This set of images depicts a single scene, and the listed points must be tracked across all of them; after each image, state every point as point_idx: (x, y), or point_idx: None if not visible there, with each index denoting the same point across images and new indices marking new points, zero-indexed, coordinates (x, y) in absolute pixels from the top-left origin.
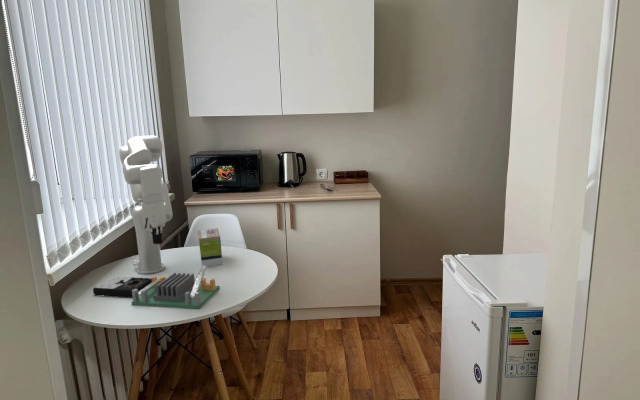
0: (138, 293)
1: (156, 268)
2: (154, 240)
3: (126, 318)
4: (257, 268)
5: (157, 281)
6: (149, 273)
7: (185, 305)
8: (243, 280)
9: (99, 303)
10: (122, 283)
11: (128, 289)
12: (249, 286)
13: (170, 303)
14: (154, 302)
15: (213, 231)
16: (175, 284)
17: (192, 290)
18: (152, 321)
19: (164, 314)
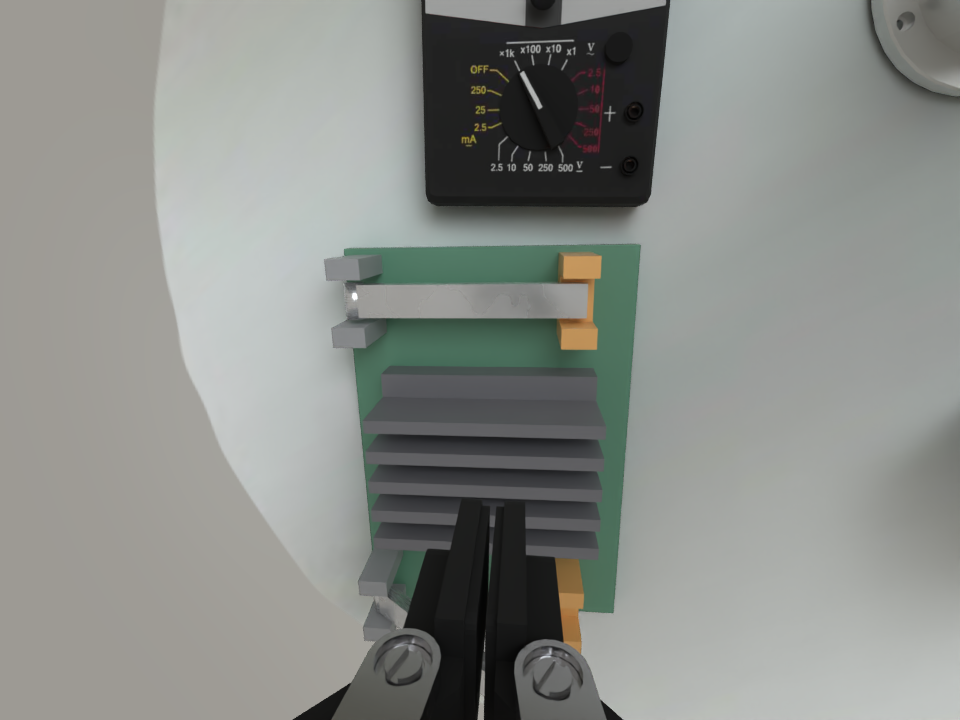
0: (345, 297)
1: (956, 47)
2: (424, 577)
3: (218, 318)
4: (917, 702)
5: (540, 314)
6: (875, 25)
7: (372, 540)
8: (726, 675)
9: (323, 14)
10: (529, 14)
11: (433, 151)
12: (646, 714)
13: (373, 468)
14: (366, 383)
15: None
16: (411, 522)
17: (397, 607)
18: (230, 452)
19: (300, 470)
